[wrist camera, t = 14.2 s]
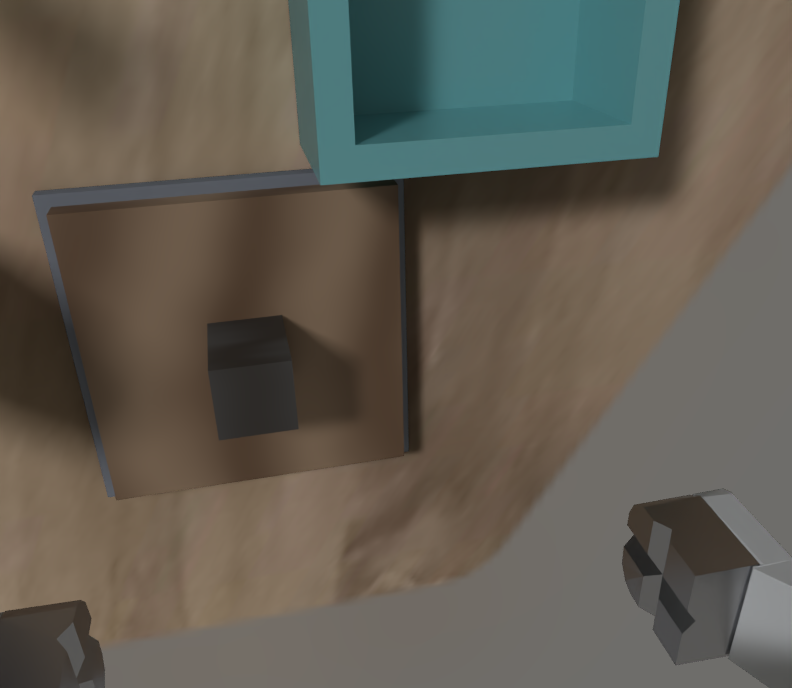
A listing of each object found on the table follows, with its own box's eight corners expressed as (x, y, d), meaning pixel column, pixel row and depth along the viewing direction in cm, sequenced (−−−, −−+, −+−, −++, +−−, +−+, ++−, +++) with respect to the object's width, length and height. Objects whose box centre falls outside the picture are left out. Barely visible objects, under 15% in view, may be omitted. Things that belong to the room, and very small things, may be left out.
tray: (399, 161, 31) (403, 165, 30) (405, 444, 38) (408, 451, 37) (35, 191, 28) (32, 195, 28) (109, 489, 35) (107, 497, 34)
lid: (392, 178, 31) (424, 215, 26) (399, 443, 37) (425, 510, 32) (51, 207, 28) (23, 253, 24) (118, 486, 34) (106, 563, 30)
